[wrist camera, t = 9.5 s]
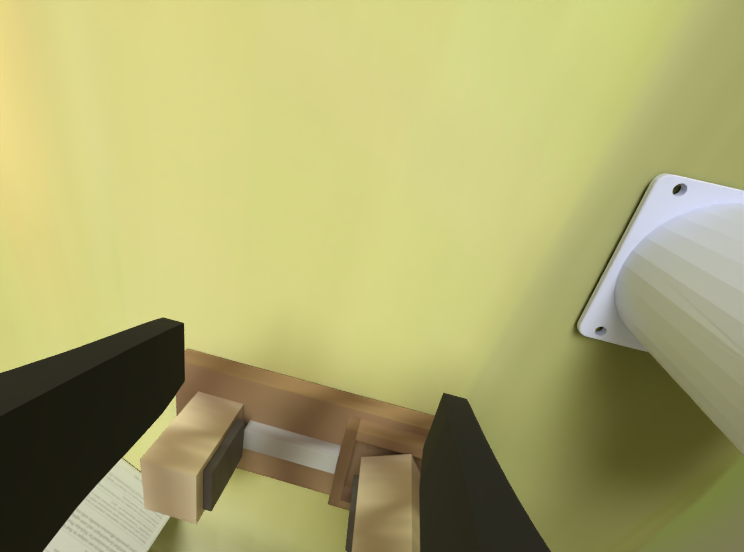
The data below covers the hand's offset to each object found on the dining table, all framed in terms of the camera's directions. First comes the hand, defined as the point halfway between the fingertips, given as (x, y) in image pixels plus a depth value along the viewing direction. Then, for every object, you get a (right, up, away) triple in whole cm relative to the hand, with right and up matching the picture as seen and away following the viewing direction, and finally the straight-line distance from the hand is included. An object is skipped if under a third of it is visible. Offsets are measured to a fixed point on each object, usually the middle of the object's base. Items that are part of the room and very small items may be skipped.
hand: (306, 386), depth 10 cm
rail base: (-2, -7, +14) cm, 16 cm away
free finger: (+3, -9, +12) cm, 16 cm away
